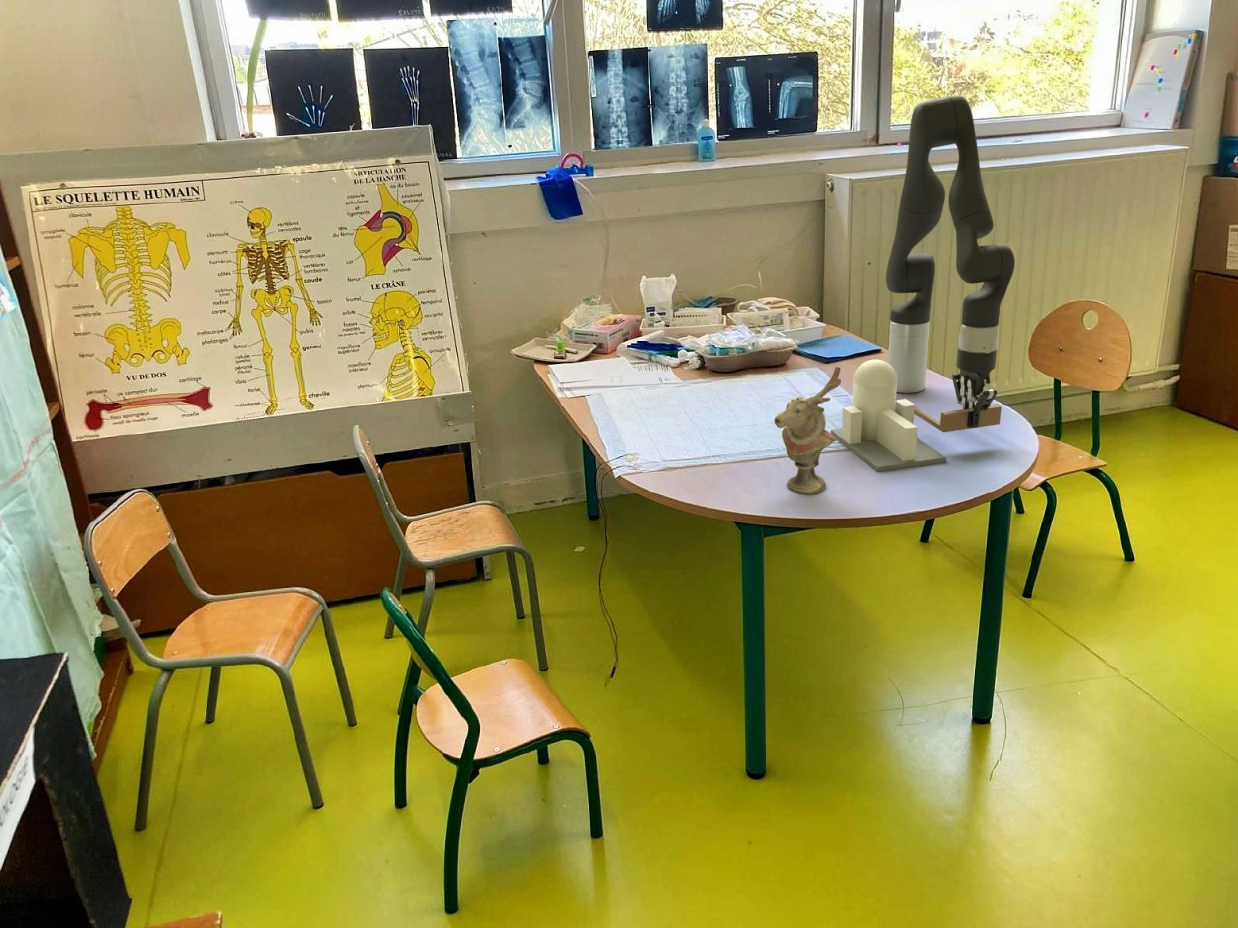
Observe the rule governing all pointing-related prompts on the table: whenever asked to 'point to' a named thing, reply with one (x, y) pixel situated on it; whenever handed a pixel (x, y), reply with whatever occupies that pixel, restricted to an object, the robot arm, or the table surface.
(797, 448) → the decorative bust
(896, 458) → the bracket-mounted cylinder
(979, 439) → the table surface
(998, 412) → the brown u-shaped frame
